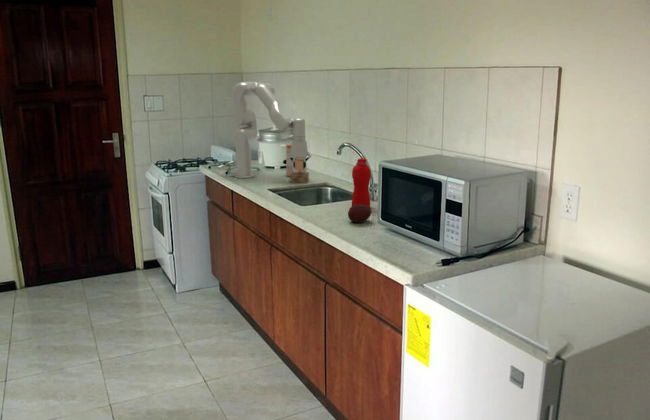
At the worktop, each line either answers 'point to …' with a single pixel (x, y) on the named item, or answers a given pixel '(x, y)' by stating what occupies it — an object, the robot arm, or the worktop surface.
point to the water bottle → (361, 183)
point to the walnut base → (299, 177)
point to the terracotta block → (299, 164)
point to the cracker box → (290, 162)
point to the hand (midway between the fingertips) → (299, 167)
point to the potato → (359, 213)
